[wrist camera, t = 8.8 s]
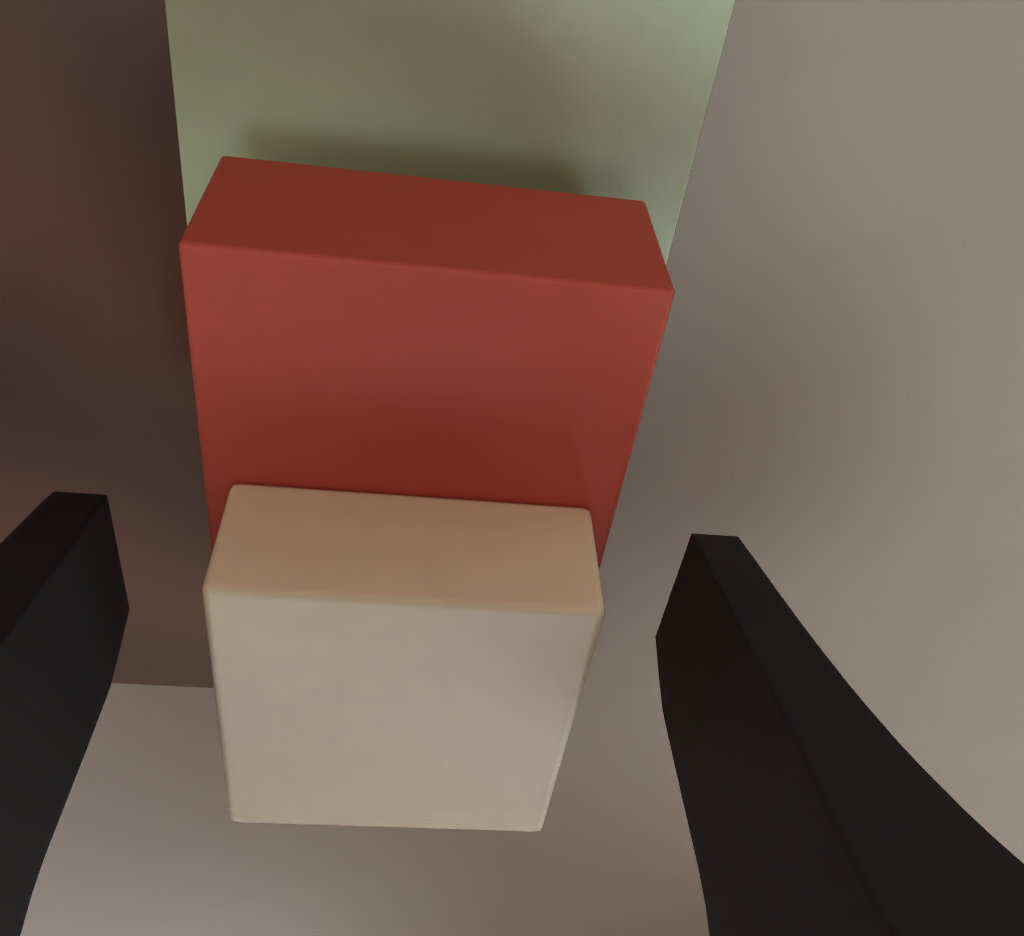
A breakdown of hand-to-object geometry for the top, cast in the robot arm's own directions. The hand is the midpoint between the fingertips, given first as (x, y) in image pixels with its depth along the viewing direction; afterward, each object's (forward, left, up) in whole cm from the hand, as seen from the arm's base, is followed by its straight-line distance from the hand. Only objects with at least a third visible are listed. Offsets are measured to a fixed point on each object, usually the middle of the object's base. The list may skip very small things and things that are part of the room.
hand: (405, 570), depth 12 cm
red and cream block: (0, 0, -3) cm, 3 cm away
